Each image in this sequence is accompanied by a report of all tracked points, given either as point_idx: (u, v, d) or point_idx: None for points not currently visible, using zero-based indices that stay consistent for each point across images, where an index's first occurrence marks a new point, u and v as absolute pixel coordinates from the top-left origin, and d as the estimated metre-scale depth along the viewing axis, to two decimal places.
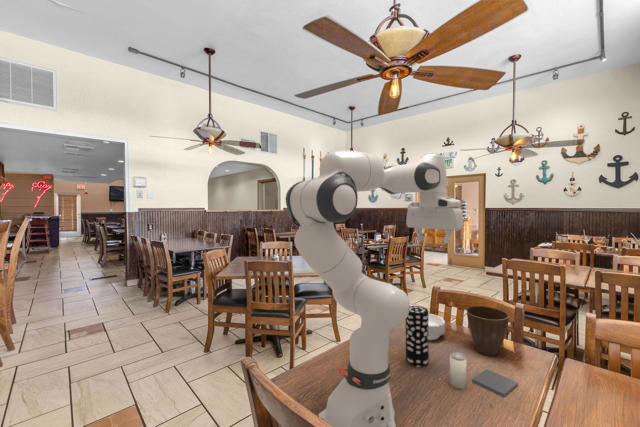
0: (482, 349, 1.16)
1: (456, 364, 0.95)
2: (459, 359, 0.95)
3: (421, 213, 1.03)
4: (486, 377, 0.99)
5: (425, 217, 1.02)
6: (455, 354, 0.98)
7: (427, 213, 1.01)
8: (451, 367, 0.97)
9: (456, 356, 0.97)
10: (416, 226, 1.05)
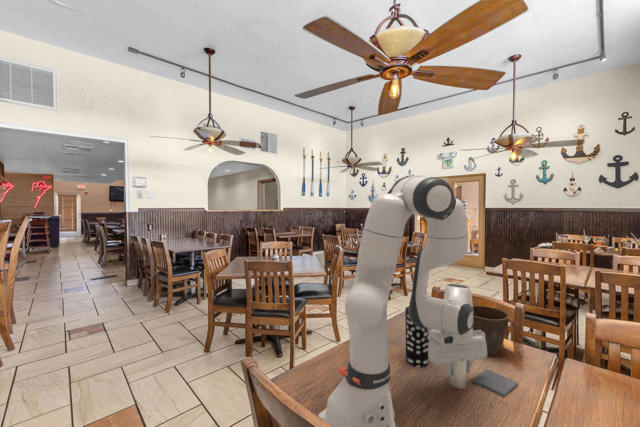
0: None
1: (456, 364, 0.95)
2: None
3: None
4: (486, 377, 0.99)
5: None
6: None
7: None
8: (451, 366, 0.97)
9: None
10: None
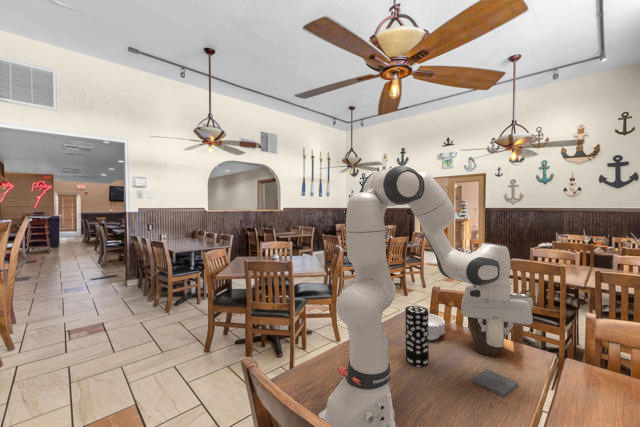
0: (482, 349, 1.16)
1: (488, 321, 0.96)
2: None
3: None
4: (486, 377, 0.99)
5: None
6: None
7: None
8: (486, 324, 0.98)
9: None
10: None
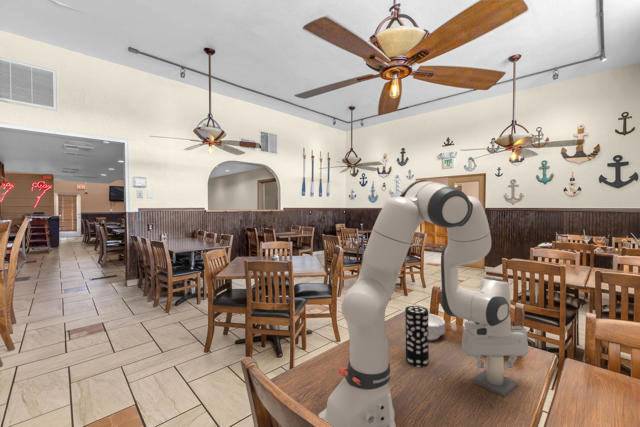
0: None
1: (491, 360, 0.96)
2: (495, 355, 0.95)
3: None
4: None
5: None
6: None
7: None
8: (487, 362, 0.97)
9: None
10: None
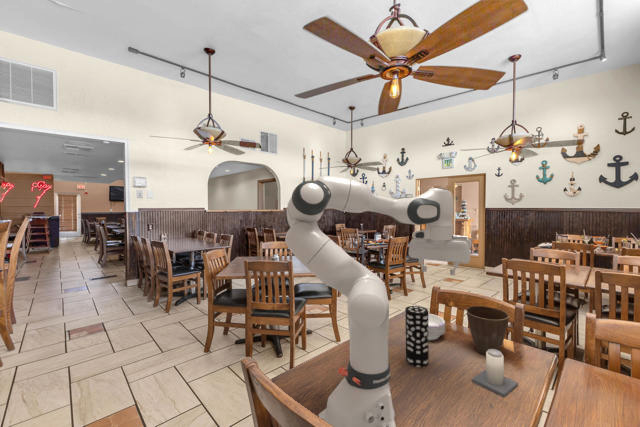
0: (482, 349, 1.16)
1: (491, 360, 0.96)
2: (495, 355, 0.95)
3: None
4: None
5: None
6: (492, 350, 0.98)
7: None
8: (487, 362, 0.97)
9: (492, 352, 0.97)
10: None
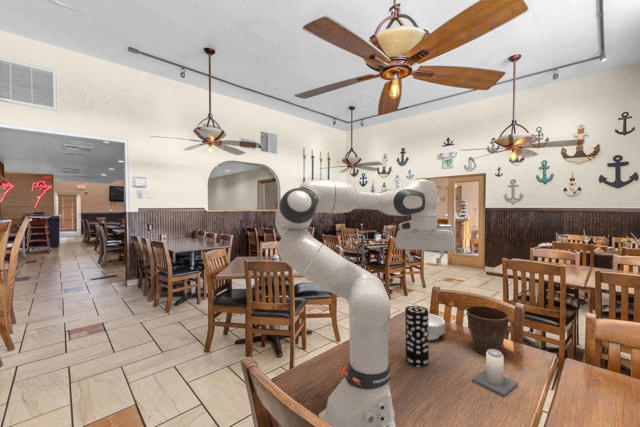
0: (482, 349, 1.16)
1: (491, 360, 0.96)
2: (495, 355, 0.95)
3: None
4: None
5: None
6: (492, 350, 0.98)
7: None
8: (487, 362, 0.97)
9: (492, 352, 0.97)
10: None
